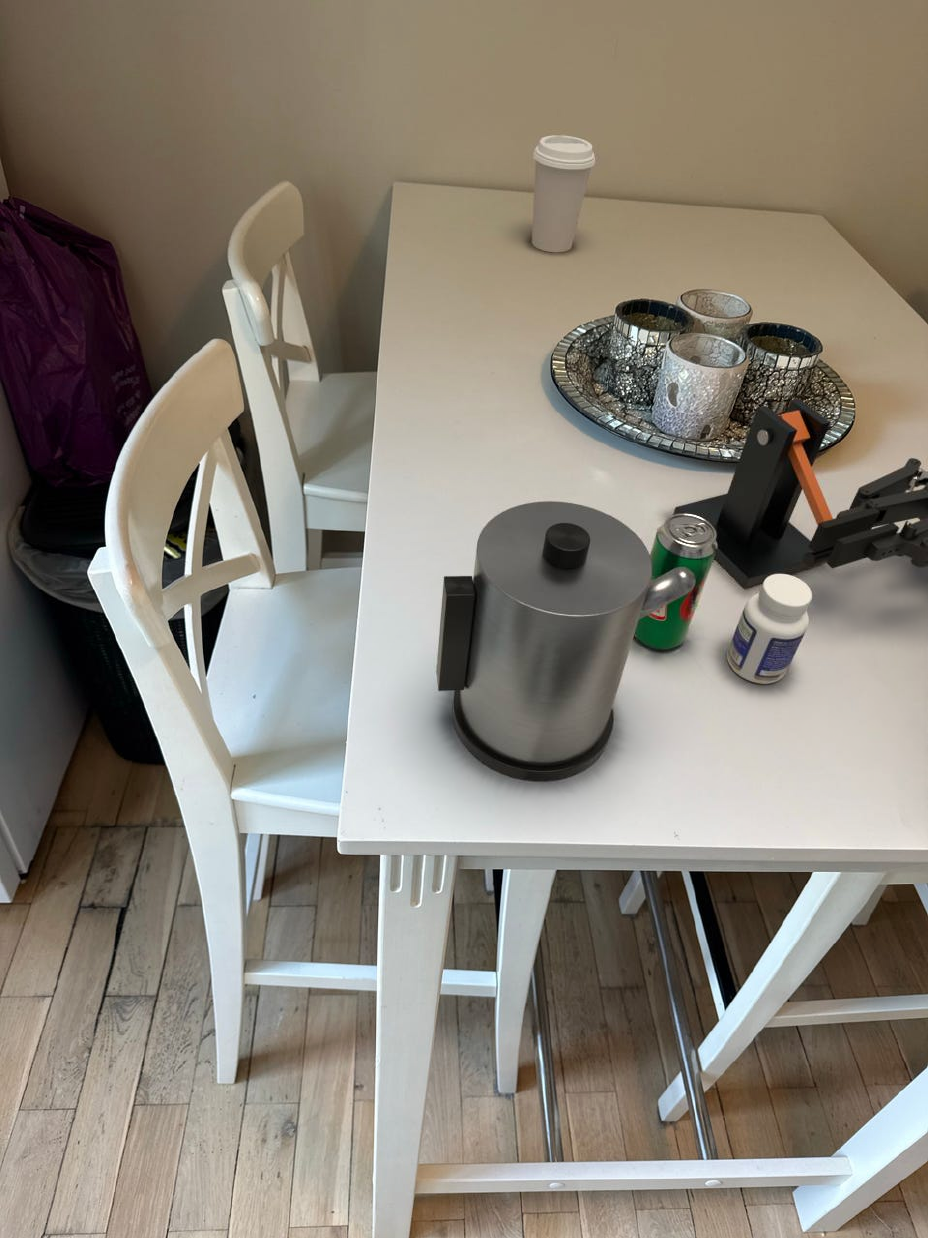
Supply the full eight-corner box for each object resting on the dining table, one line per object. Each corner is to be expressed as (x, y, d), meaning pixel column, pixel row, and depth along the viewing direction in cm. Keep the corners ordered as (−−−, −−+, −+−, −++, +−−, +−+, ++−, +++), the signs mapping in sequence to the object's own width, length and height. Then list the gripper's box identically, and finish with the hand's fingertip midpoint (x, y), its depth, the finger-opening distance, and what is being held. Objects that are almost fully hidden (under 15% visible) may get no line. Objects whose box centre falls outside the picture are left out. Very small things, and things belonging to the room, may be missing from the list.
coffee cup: (582, 237, 146) (599, 138, 135) (579, 259, 139) (596, 157, 128) (525, 229, 146) (537, 130, 136) (519, 251, 139) (531, 149, 129)
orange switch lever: (859, 553, 82) (878, 545, 80) (802, 571, 80) (820, 563, 77) (801, 417, 84) (818, 405, 82) (744, 430, 82) (760, 418, 79)
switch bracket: (821, 564, 89) (881, 439, 78) (744, 588, 85) (796, 460, 75) (746, 496, 96) (791, 374, 86) (672, 516, 93) (710, 391, 82)
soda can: (619, 618, 81) (648, 514, 72) (668, 609, 82) (702, 506, 74) (643, 657, 77) (676, 553, 69) (694, 647, 79) (733, 544, 70)
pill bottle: (793, 658, 79) (829, 585, 73) (775, 694, 75) (811, 621, 69) (736, 633, 81) (767, 559, 74) (716, 667, 77) (747, 593, 71)
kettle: (630, 654, 78) (683, 478, 65) (669, 775, 68) (741, 600, 55) (428, 659, 75) (440, 478, 62) (441, 786, 66) (459, 605, 53)
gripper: (1052, 567, 83) (869, 632, 74) (933, 480, 92) (757, 529, 83) (1098, 502, 78) (907, 565, 69) (967, 417, 87) (784, 463, 78)
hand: (826, 545), depth 76 cm, fingers closed
